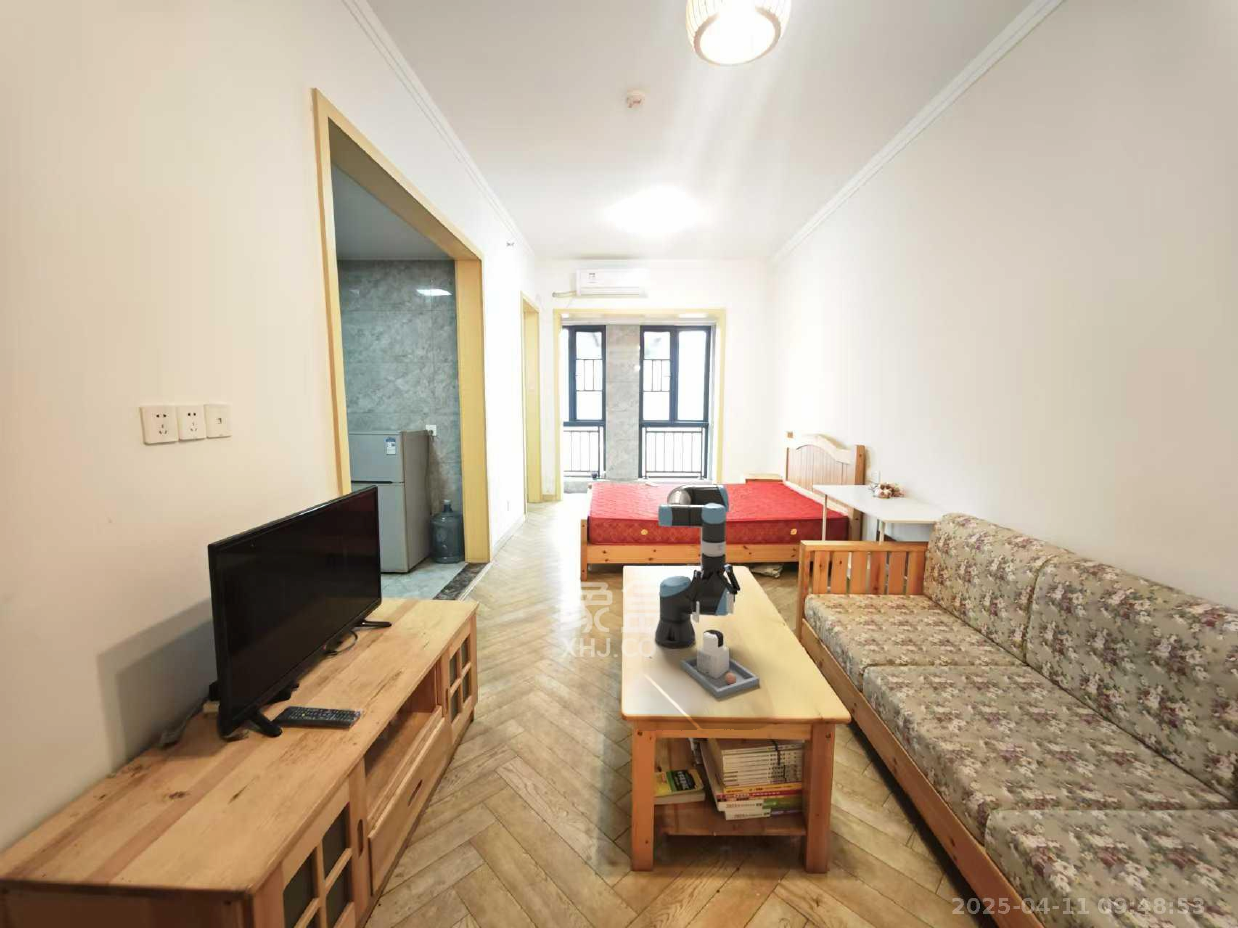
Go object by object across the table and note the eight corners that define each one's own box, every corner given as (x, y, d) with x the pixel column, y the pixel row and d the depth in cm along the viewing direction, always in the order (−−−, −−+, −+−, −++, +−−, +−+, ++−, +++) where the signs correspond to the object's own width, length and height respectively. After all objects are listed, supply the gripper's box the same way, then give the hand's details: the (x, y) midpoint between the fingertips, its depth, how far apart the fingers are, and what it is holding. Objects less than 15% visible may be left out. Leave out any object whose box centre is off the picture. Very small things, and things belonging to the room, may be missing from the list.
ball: (722, 682, 149) (722, 672, 148) (731, 680, 150) (731, 669, 150) (729, 688, 145) (729, 677, 145) (738, 685, 147) (738, 674, 147)
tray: (680, 669, 159) (680, 660, 158) (719, 657, 166) (719, 649, 165) (717, 701, 141) (717, 691, 141) (759, 687, 148) (759, 677, 147)
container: (709, 661, 161) (709, 625, 160) (729, 669, 156) (729, 631, 155) (696, 671, 156) (696, 633, 154) (717, 679, 150) (717, 640, 149)
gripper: (687, 562, 143) (687, 629, 146) (752, 550, 154) (751, 613, 156) (674, 555, 150) (674, 619, 152) (736, 544, 161) (736, 604, 163)
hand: (713, 616), depth 154 cm, fingers open, 13 cm apart
